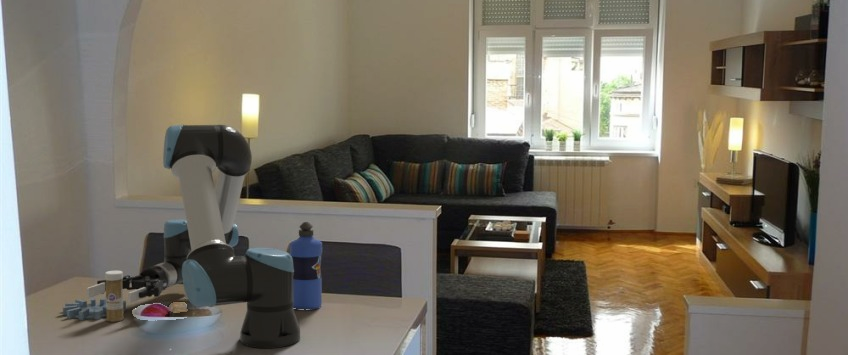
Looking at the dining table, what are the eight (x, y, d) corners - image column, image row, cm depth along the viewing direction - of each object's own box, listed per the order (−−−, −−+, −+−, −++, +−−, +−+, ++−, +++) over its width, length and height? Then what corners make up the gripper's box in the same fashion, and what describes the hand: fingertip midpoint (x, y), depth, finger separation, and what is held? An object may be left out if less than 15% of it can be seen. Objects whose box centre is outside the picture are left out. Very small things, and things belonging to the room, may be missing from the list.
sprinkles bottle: (105, 322, 217) (104, 274, 215) (106, 318, 221) (105, 270, 220) (123, 321, 218) (122, 273, 217) (124, 316, 223) (123, 269, 221)
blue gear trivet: (110, 321, 218) (110, 313, 218) (51, 319, 219) (51, 311, 219) (135, 304, 235) (135, 297, 235) (80, 302, 236) (80, 295, 235)
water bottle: (325, 302, 240) (325, 220, 237) (317, 311, 231) (318, 226, 228) (294, 301, 241) (294, 219, 238) (286, 310, 232) (286, 224, 229)
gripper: (194, 294, 233) (147, 313, 213) (122, 286, 241) (71, 304, 221) (193, 269, 233) (146, 286, 212) (122, 261, 240) (70, 277, 220)
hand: (108, 295), depth 217 cm, fingers open, 13 cm apart
